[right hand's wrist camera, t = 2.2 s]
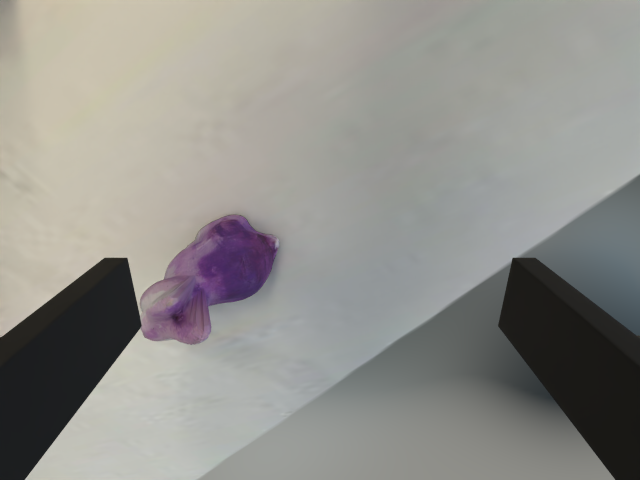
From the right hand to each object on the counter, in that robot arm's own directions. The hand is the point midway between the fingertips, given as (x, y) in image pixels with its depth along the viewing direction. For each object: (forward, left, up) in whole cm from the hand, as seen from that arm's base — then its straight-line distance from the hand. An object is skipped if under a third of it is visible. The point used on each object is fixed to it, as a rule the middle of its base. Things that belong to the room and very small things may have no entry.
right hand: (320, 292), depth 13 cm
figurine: (+12, -8, -26) cm, 29 cm away
